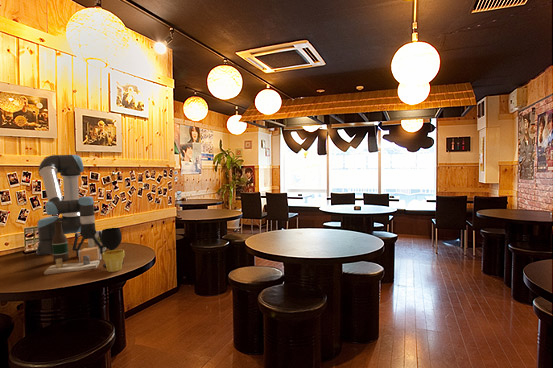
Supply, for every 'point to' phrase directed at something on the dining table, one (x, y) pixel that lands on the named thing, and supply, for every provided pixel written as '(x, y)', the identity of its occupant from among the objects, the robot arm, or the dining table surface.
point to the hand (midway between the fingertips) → (90, 260)
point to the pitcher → (93, 244)
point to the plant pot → (113, 260)
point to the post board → (72, 266)
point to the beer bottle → (59, 243)
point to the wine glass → (111, 238)
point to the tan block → (90, 253)
